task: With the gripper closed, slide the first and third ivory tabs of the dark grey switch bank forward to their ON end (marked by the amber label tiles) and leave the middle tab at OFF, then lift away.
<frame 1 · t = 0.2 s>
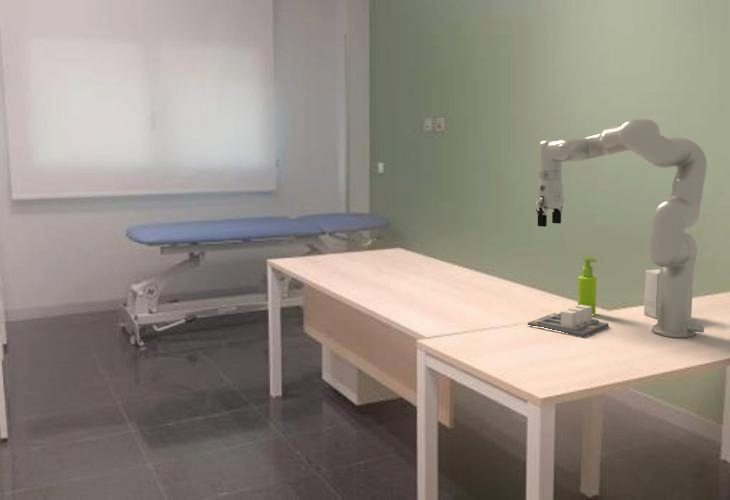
hand: (549, 224, 240), 31 cm above the table, tool pointing down, fingers open, 9 cm apart
tab 2: (576, 316, 221), point 4 cm above the table, slide at 0.0 cm
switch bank: (567, 326, 223), on the table
tab 3: (568, 319, 218), point 4 cm above the table, slide at 0.0 cm
soap dispenser: (587, 314, 238), on the table
tab 1: (583, 313, 224), point 4 cm above the table, slide at 0.0 cm
skincare box: (659, 316, 233), on the table
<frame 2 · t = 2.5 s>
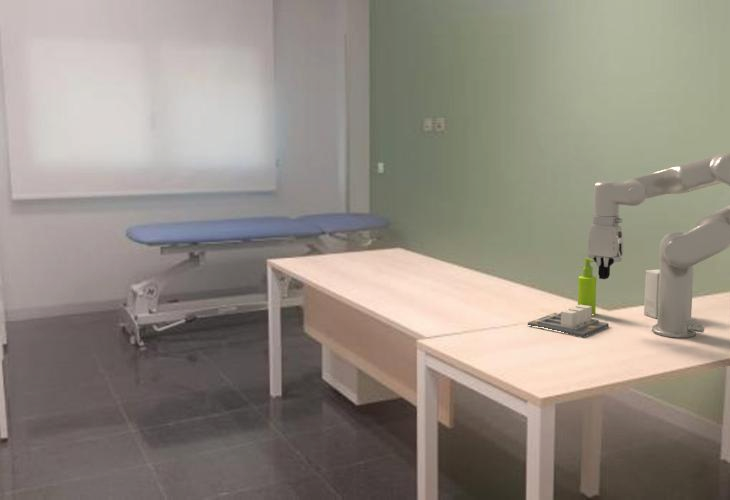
hand: (603, 278, 216), 17 cm above the table, tool pointing down, fingers closed
nothing on the table moved.
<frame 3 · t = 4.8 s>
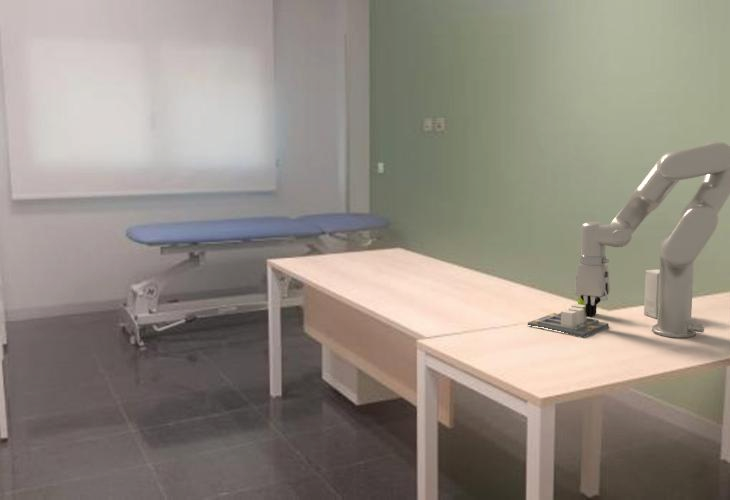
hand: (590, 316, 222), 4 cm above the table, tool pointing down, fingers closed
tab 1: (579, 313, 225), point 4 cm above the table, slide at 1.5 cm, touching gripper
everything else where it was.
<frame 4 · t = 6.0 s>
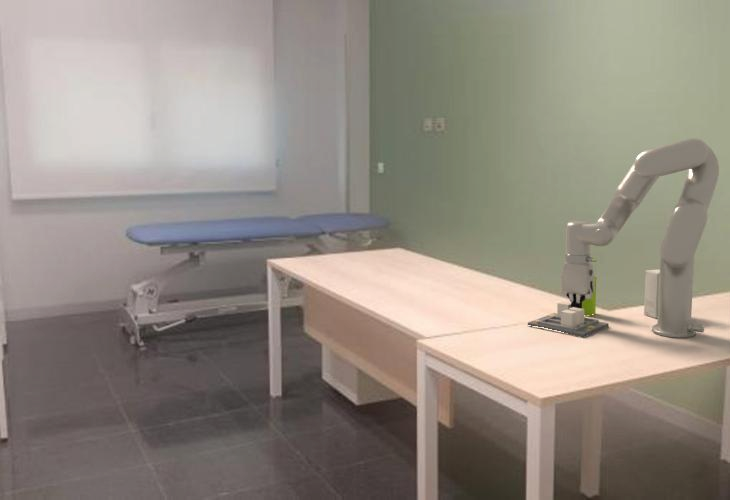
hand: (576, 313, 225), 3 cm above the table, tool pointing down, fingers closed
tab 1: (565, 310, 228), point 4 cm above the table, slide at 6.7 cm, touching gripper
everything else where it was.
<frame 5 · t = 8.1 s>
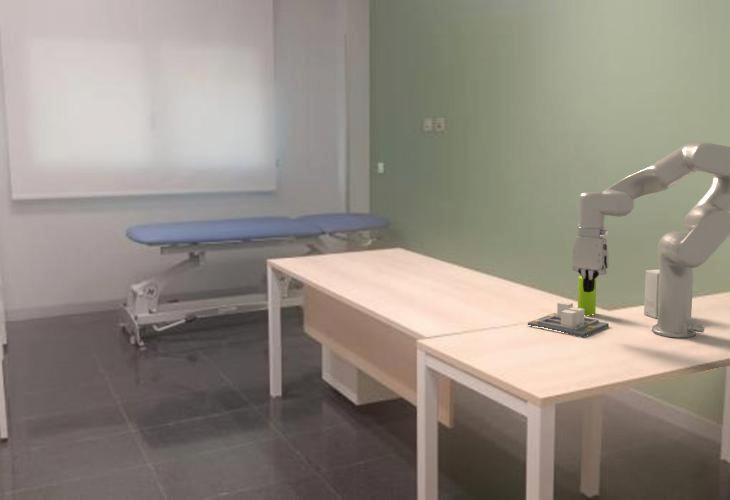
hand: (588, 291, 211), 14 cm above the table, tool pointing down, fingers closed
tab 1: (564, 310, 228), point 4 cm above the table, slide at 6.8 cm
everything else where it was.
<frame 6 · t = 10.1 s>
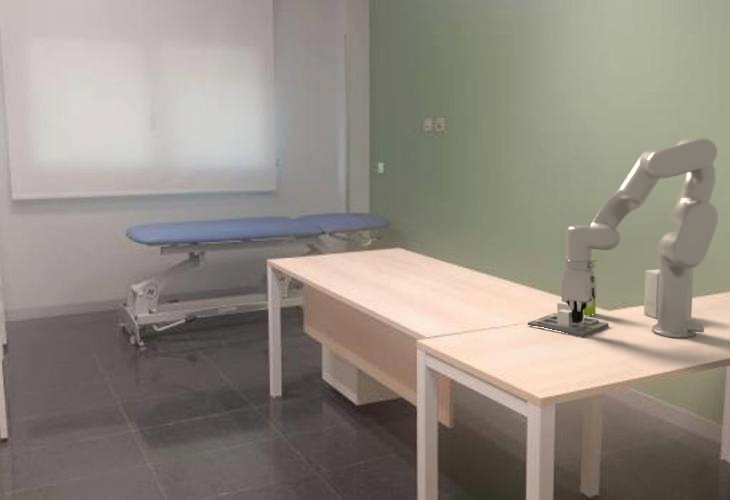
hand: (577, 322, 215), 4 cm above the table, tool pointing down, fingers closed
tab 3: (565, 318, 218), point 4 cm above the table, slide at 1.2 cm, touching gripper
everything else where it was.
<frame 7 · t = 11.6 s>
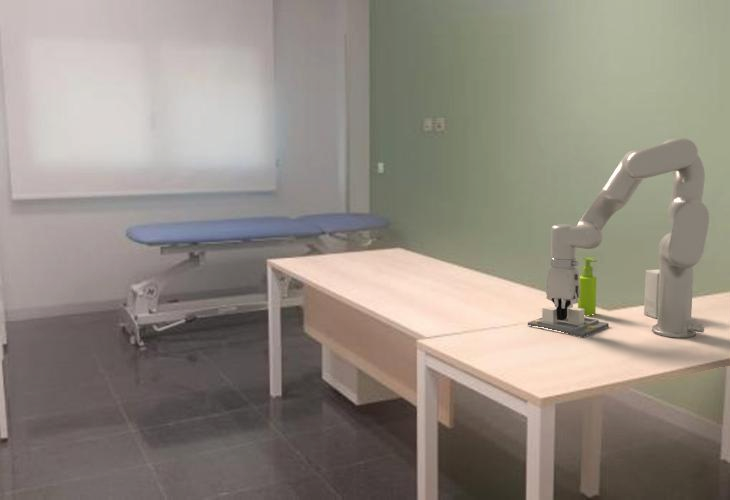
hand: (561, 319, 219), 3 cm above the table, tool pointing down, fingers closed
tab 3: (550, 315, 222), point 4 cm above the table, slide at 6.8 cm, touching gripper
everything else where it was.
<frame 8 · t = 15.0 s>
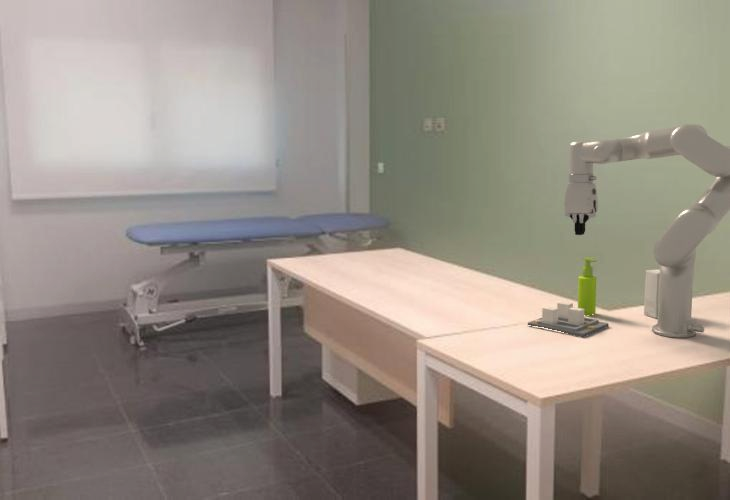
hand: (579, 234, 227), 29 cm above the table, tool pointing down, fingers closed
tab 3: (550, 315, 222), point 4 cm above the table, slide at 6.8 cm
everything else where it was.
at the end: tab 1 slide at 6.8 cm; tab 3 slide at 6.8 cm; tab 2 slide at 0.0 cm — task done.
